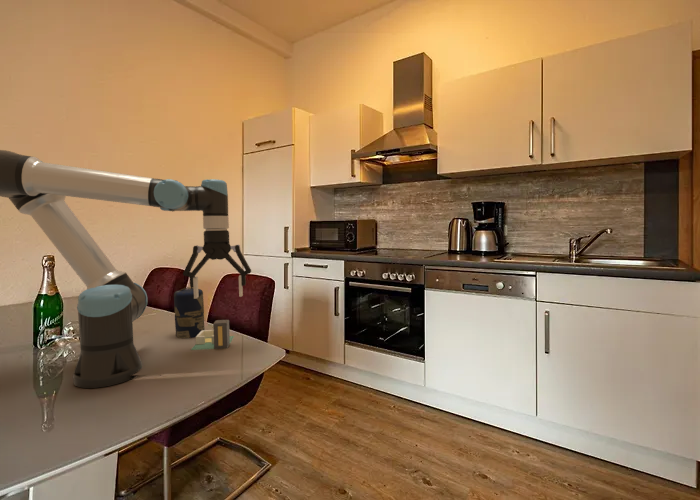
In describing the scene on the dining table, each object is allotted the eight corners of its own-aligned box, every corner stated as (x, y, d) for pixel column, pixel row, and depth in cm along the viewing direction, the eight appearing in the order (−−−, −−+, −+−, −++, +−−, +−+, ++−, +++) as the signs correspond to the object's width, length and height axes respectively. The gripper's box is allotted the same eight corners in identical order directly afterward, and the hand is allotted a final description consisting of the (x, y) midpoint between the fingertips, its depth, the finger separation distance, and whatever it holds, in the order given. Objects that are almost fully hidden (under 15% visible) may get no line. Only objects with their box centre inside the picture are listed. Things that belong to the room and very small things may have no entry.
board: (227, 351, 115) (227, 348, 115) (190, 353, 114) (190, 350, 114) (234, 339, 128) (234, 335, 128) (201, 340, 127) (201, 337, 126)
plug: (227, 348, 115) (226, 323, 114) (213, 349, 114) (213, 323, 114) (229, 344, 119) (229, 319, 119) (216, 344, 119) (216, 320, 118)
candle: (197, 341, 125) (195, 289, 124) (170, 341, 126) (168, 289, 125) (209, 333, 135) (207, 285, 134) (183, 333, 135) (181, 285, 134)
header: (220, 343, 120) (220, 335, 120) (195, 344, 119) (195, 337, 119) (224, 336, 127) (224, 329, 127) (201, 337, 126) (201, 330, 126)
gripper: (258, 229, 121) (260, 293, 122) (177, 230, 117) (180, 296, 118) (256, 229, 113) (258, 297, 115) (170, 230, 109) (173, 301, 111)
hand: (218, 297), depth 117 cm, fingers open, 13 cm apart
